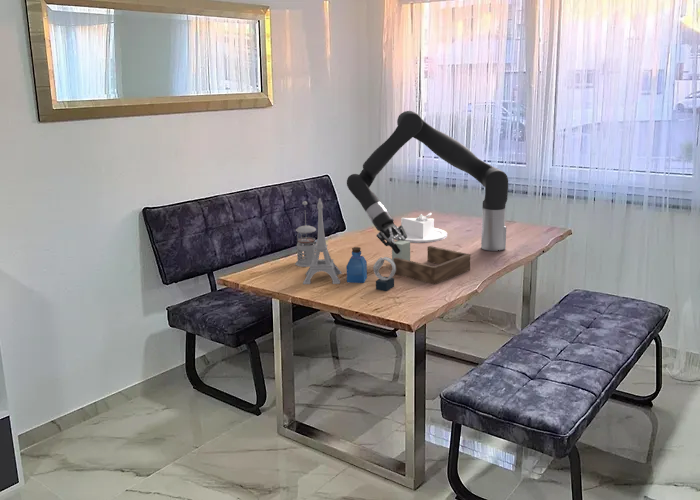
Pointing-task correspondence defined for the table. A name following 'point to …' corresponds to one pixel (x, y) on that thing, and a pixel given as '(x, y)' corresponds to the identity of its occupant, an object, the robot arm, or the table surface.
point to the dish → (422, 230)
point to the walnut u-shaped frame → (447, 268)
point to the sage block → (402, 250)
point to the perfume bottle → (356, 267)
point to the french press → (305, 245)
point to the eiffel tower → (327, 262)
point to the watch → (384, 282)
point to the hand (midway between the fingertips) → (403, 250)
